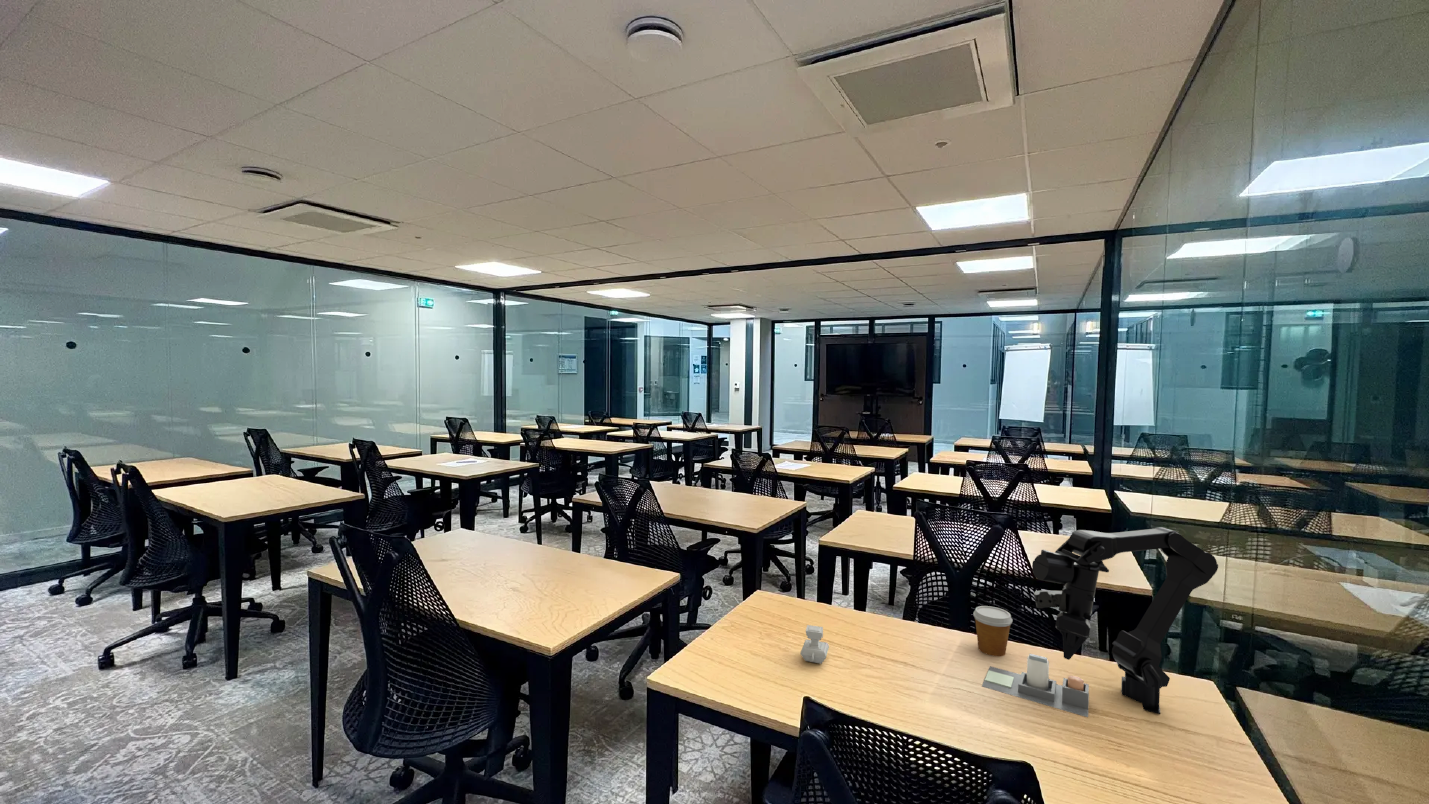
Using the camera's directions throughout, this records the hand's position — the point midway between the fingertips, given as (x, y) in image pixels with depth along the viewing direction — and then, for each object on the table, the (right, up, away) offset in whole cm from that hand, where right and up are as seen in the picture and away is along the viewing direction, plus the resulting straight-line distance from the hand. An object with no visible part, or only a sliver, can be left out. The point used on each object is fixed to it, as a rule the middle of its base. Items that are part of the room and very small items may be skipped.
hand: (1067, 653), depth 126 cm
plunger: (+1, -9, -1) cm, 9 cm away
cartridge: (-5, -10, +3) cm, 12 cm away
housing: (-6, -12, +4) cm, 13 cm away
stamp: (-55, -11, +20) cm, 59 cm away
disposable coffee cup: (-6, -12, +23) cm, 27 cm away
